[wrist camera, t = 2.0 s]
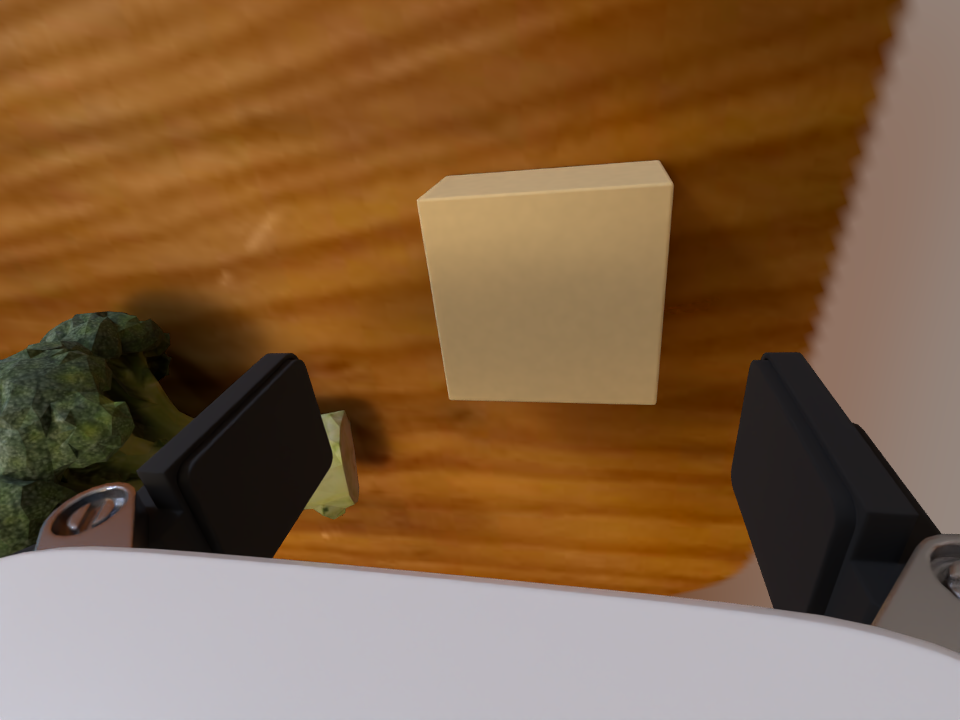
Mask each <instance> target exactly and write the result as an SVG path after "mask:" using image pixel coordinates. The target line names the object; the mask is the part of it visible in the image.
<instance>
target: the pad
mask: <svg viewBox="0 0 960 720" xmlns="http://www.w3.org/2000/svg"><path fill="white" fill-rule="evenodd" d="M673 191H674V184H673V182H672V180H671V178H670V177H669V175H668V174H667V172H666V170H665V169H664V167H663V165H662V164H661V162H660V161H658V160H653V161H640V162H627V163H614V164H600V165H587V166H574V167H561V168H548V169H534V170H521V171H508V172H495V173H482V174H468V175H455V176H447V177H445V178H444V179H442V180H441V181H440V182H439V183H437V184H436V185H435V186H434V187H432V188H431V189H430V190H429V191H428V192H426V193H425V194H424V195H423V196H421V197H420V198H419V199H418V200H417V205H418V211H419V217H420V223H421V229H422V235H423V242H424V248H425V254H426V260H427V266H428V272H429V278H430V284H431V291H432V297H433V303H434V309H435V315H436V321H437V327H438V333H439V340H440V346H441V352H442V358H443V364H444V370H445V376H446V382H447V389H448V395H449V399H450V400H477V401H517V402H558V403H598V404H639V405H655V404H656V402H657V390H658V377H659V365H660V352H661V340H662V328H663V315H664V303H665V290H666V278H667V266H668V253H669V241H670V228H671V216H672V204H673Z"/></svg>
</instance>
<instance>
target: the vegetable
mask: <svg viewBox="0 0 960 720" xmlns="http://www.w3.org/2000/svg"><path fill="white" fill-rule="evenodd" d="M169 345H170V335H169V333H163V331H162V329H161V328H160V327H159V326H158V325H157V324H156V323H155V322H154V321H153V320H152V319H148V320H146V321H139V320H138V318H137V316H132V315H128V314H127V313H122V312H109V311H107V312H97V313H87V314H77V315H75V316H74V317H73V318H72V319H69V320H67V321H65V322H62V323H61V324H59V325H58V326H56V327H55V328H53V329H52V330H50V331H49V332H48V333H47V334H46V335H45V336H44V337H43V339H42V340H41V341H40V343H37V344H33V345H29V346H28V347H27V349H24V350H23V351H21V352H19V353H17V354H14V355H12V356H10V357H8V358H6V359H3V360H0V558H2V557H6V556H8V555H11V554H13V553H15V552H18V551H20V550H22V549H25V548H27V547H30V546H32V545H34V544H36V542H37V538H38V535H39V531H40V529H41V527H42V525H43V523H44V521H45V519H46V518H47V517H48V516H49V515H50V514H51V513H52V512H53V511H54V510H55V509H56V508H58V507H59V506H60V505H62V504H63V503H64V502H65V501H67V500H69V499H70V498H72V497H74V496H76V495H77V494H79V493H81V492H84V491H86V490H88V489H91V488H93V487H96V486H99V485H103V484H106V483H114V482H123V483H129V484H130V485H131V486H133V487H134V488H135V490H136V492H137V491H138V490H139V489H140V488H141V487H142V486H143V485H144V484H143V483H142V481H141V479H140V477H139V475H138V474H137V472H136V471H137V470H138V469H139V468H140V467H141V466H142V465H143V464H144V463H145V462H147V461H148V460H149V459H150V458H151V457H152V456H153V455H154V454H156V453H157V452H158V451H159V450H160V449H161V448H162V447H163V446H164V445H166V444H167V443H168V442H169V441H170V440H171V439H172V438H173V437H174V436H176V435H177V434H178V433H179V432H180V431H181V430H182V429H183V428H184V427H186V426H187V425H188V424H189V423H190V422H191V421H192V420H193V419H194V418H192V417H190V416H188V415H186V414H183V413H181V412H179V411H178V409H177V408H176V407H175V406H174V405H173V404H172V402H171V401H170V400H169V398H168V397H167V395H166V393H165V392H164V390H163V389H162V387H161V386H160V384H159V382H158V381H159V380H161V379H162V378H163V377H164V376H167V375H169V364H170V361H171V358H172V357H168V356H167V354H166V353H165V351H166V350H167V348H168V347H169ZM321 417H322V420H323V423H324V427H325V430H326V433H327V436H328V439H329V443H330V446H331V449H332V453H333V460H332V465H331V467H330V469H329V471H328V472H327V474H326V475H325V477H324V478H323V480H322V481H321V483H320V485H319V486H318V488H317V489H316V491H315V492H314V494H313V495H312V497H311V499H310V500H309V502H308V503H307V505H306V506H305V508H304V509H314V510H316V511H317V512H319V513H320V514H322V515H323V516H326V517H329V518H331V519H335V518H337V517H339V516H341V515H342V514H344V513H345V508H347V507H349V506H351V505H354V504H355V503H356V502H358V496H359V483H358V476H357V468H356V459H355V450H354V444H353V438H352V432H351V422H350V420H349V419H348V417H347V415H346V413H345V410H342V411H337V412H332V413H327V414H322V415H321ZM342 516H343V515H342Z"/></svg>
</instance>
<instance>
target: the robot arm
mask: <svg viewBox="0 0 960 720" xmlns="http://www.w3.org/2000/svg"><path fill="white" fill-rule="evenodd" d="M332 460H333V453H332V449H331V446H330V443H329V439H328V436H327V433H326V430H325V427H324V423H323V420H322V417H321V414H320V410H319V407H318V404H317V401H316V398H315V394H314V391H313V388H312V385H311V382H310V378H309V375H308V372H307V369H306V366H305V364H304V362H303V361H302V360H299V359H298V358H297V356H296V355H294V354H292V353H270V354H266V355H265V356H263V357H262V358H261V359H260V360H259V361H258V362H257V363H256V364H255V365H253V366H252V367H251V368H250V369H249V370H248V371H247V372H246V373H245V374H243V375H242V376H241V377H240V378H239V379H238V380H237V381H236V382H234V383H233V384H232V385H231V386H230V387H229V388H228V389H227V390H226V391H224V392H223V393H222V394H221V395H220V396H219V397H218V398H217V399H216V400H214V401H213V402H212V403H211V404H210V405H209V406H208V407H207V408H206V409H204V410H203V411H202V412H201V413H200V414H199V415H198V416H197V417H196V418H194V419H193V420H192V421H191V422H190V423H189V424H188V425H187V426H186V427H184V428H183V429H182V430H181V431H180V432H179V433H178V434H177V435H176V436H174V437H173V438H172V439H171V440H170V441H169V442H168V443H167V444H166V445H164V446H163V447H162V448H161V449H160V450H159V451H158V452H157V453H156V454H154V455H153V456H152V457H151V458H150V459H149V460H148V461H147V462H145V463H144V464H143V465H142V466H141V467H140V468H139V469H138V470H137V471H136V472H137V474H138V475H139V477H140V479H141V481H142V483H143V484H144V485H143V486H142V487H141V488H140V489H139V490H138V491H137V492H136V490H135V488H134V487H133V486H131V485H130V484H129V483H123V482H114V483H106V484H103V485H99V486H96V487H93V488H91V489H88V490H86V491H84V492H81V493H79V494H77V495H76V496H74V497H72V498H70V499H69V500H67V501H65V502H64V503H63V504H62V505H60V506H59V507H58V508H56V509H55V510H54V511H53V512H52V513H51V514H50V515H49V516H48V517H47V518H46V519H45V521H44V523H43V525H42V527H41V529H40V531H39V535H38V538H37V542H36V544H34V545H32V546H30V547H27V548H25V549H22V550H20V551H18V552H15V553H13V554H11V555H8V556H6V557H2V558H0V720H960V534H941V533H940V531H939V530H938V529H937V527H936V526H935V525H934V523H933V522H932V521H931V519H930V518H929V517H928V515H927V514H926V513H925V511H924V510H923V509H922V507H921V506H920V505H919V503H918V502H917V501H916V499H915V498H914V497H913V495H912V494H911V493H910V491H909V490H908V489H907V487H906V486H905V485H904V483H903V482H902V480H901V479H900V478H899V477H898V475H897V474H896V472H895V471H894V470H893V468H892V467H891V466H890V465H889V463H888V462H887V461H886V459H885V458H884V457H883V455H882V454H881V452H880V451H879V450H878V448H877V447H876V446H875V444H874V443H873V442H872V440H871V439H870V438H869V436H868V435H867V434H866V433H865V431H864V430H863V429H862V428H861V427H860V426H859V425H857V424H854V423H852V422H851V421H850V420H849V418H848V417H847V416H846V414H845V413H844V411H843V410H842V409H841V407H840V406H839V404H838V403H837V402H836V400H835V399H834V398H833V397H832V395H831V394H830V392H829V391H828V390H827V388H826V387H825V386H824V384H823V383H822V381H821V380H820V379H819V377H818V376H817V374H816V373H815V372H814V370H813V369H812V368H811V366H810V365H809V363H808V362H807V361H806V359H805V358H804V357H803V355H802V354H801V353H797V352H781V353H764V354H763V356H762V358H761V360H753V361H752V362H751V364H750V368H749V374H748V379H747V385H746V391H745V396H744V402H743V407H742V413H741V418H740V424H739V430H738V435H737V441H736V446H735V452H734V458H733V463H732V469H731V480H732V486H733V490H734V493H735V496H736V499H737V502H738V505H739V507H740V510H741V513H742V516H743V519H744V522H745V525H746V528H747V531H748V534H749V537H750V540H751V543H752V546H753V549H754V552H755V555H756V558H757V561H758V564H759V566H760V570H761V572H762V576H763V578H764V581H765V584H766V587H767V590H768V593H769V596H770V599H771V602H772V605H773V608H774V609H773V608H766V607H758V606H751V605H742V604H734V603H726V602H716V601H708V600H698V599H689V598H680V597H671V596H662V595H654V594H644V593H634V592H624V591H614V590H603V589H593V588H583V587H573V586H563V585H553V584H543V583H533V582H522V581H512V580H502V579H492V578H481V577H471V576H460V575H449V574H439V573H428V572H417V571H407V570H396V569H385V568H374V567H363V566H352V565H341V564H331V563H319V562H308V561H296V560H285V559H273V556H274V555H275V553H276V552H277V550H278V549H279V547H280V545H281V544H282V542H283V541H284V539H285V538H286V536H287V534H288V533H289V531H290V530H291V528H292V527H293V525H294V524H295V522H296V520H297V519H298V517H299V516H300V514H301V513H302V511H303V510H304V508H305V506H306V505H307V503H308V502H309V500H310V499H311V497H312V495H313V494H314V492H315V491H316V489H317V488H318V486H319V485H320V483H321V481H322V480H323V478H324V477H325V475H326V474H327V472H328V471H329V469H330V467H331V465H332Z"/></svg>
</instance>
